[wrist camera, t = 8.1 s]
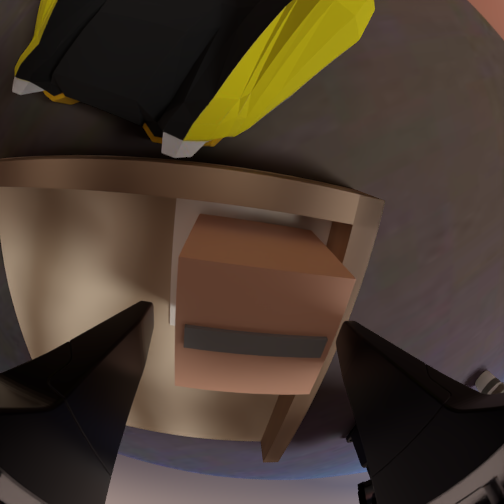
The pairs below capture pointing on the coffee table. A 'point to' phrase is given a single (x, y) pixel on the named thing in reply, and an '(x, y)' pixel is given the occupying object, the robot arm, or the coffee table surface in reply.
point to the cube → (256, 307)
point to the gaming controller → (185, 60)
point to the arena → (159, 266)
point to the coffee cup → (489, 384)
